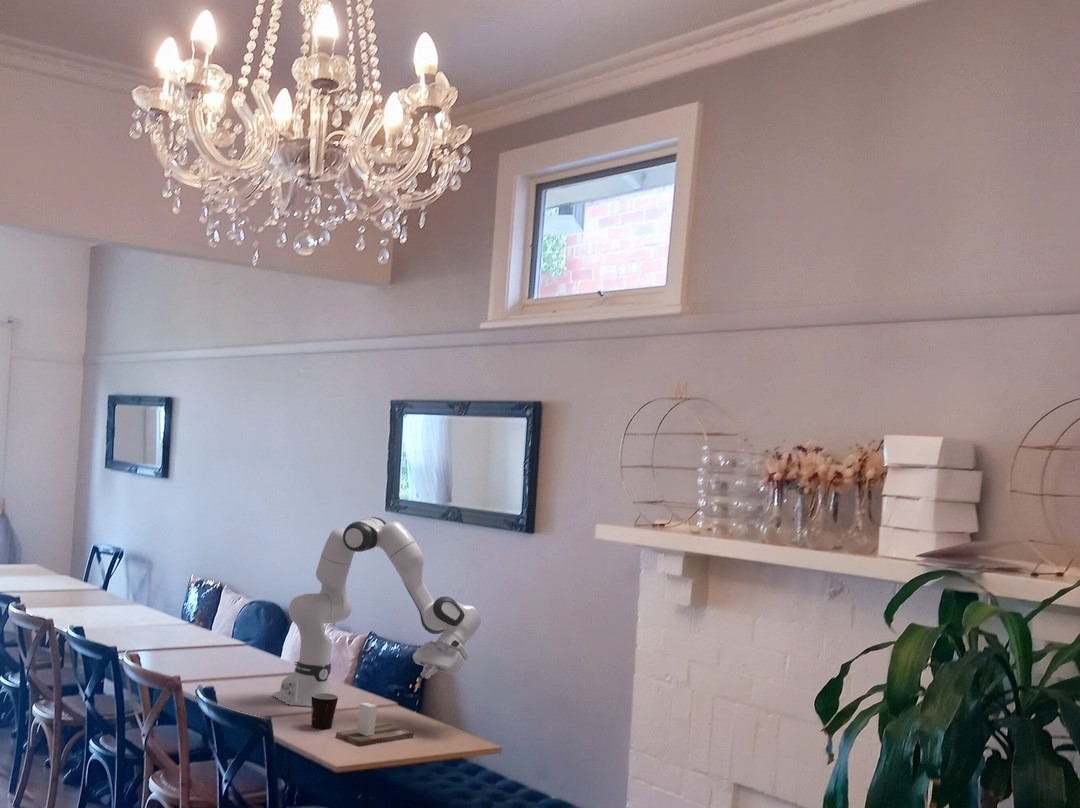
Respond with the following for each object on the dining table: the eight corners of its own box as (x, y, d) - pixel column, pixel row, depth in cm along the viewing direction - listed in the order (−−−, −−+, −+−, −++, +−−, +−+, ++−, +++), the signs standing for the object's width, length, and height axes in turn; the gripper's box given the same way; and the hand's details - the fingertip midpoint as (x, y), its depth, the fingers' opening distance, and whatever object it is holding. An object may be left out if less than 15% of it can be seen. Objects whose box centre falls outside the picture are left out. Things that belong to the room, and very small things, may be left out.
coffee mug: (312, 722, 335) (316, 691, 336) (338, 725, 334) (341, 695, 335) (301, 730, 324) (304, 699, 325) (327, 734, 323) (330, 702, 324)
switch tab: (356, 732, 322) (359, 703, 323) (363, 731, 324) (367, 702, 325) (366, 735, 319) (369, 707, 320) (373, 734, 321) (377, 706, 322)
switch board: (335, 736, 320) (336, 731, 321) (388, 728, 337) (389, 724, 337) (359, 746, 312) (360, 741, 313) (412, 737, 329) (413, 732, 329)
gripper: (424, 634, 353) (399, 664, 346) (464, 645, 340) (440, 676, 332) (432, 646, 356) (408, 676, 348) (472, 658, 343) (448, 689, 335)
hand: (424, 676), depth 340 cm, fingers closed
